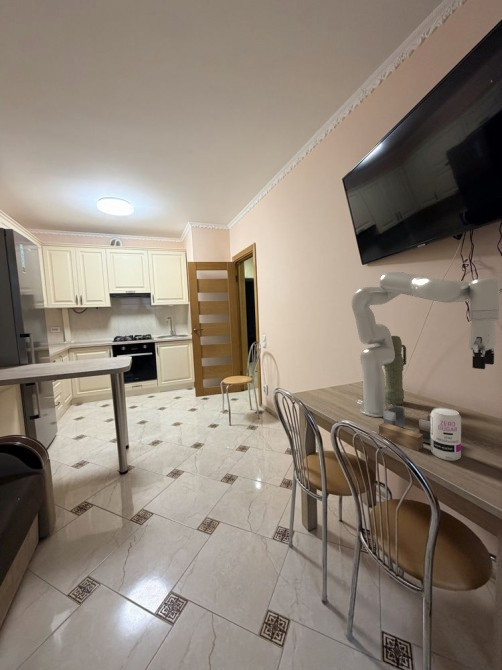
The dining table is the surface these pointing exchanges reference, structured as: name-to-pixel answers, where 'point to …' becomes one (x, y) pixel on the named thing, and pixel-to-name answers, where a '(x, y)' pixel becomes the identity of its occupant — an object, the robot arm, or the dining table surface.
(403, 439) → the brown wooden block
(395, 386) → the thermos
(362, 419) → the dining table surface
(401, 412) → the bracket stand
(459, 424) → the supplement can
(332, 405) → the dining table surface
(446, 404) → the dining table surface
